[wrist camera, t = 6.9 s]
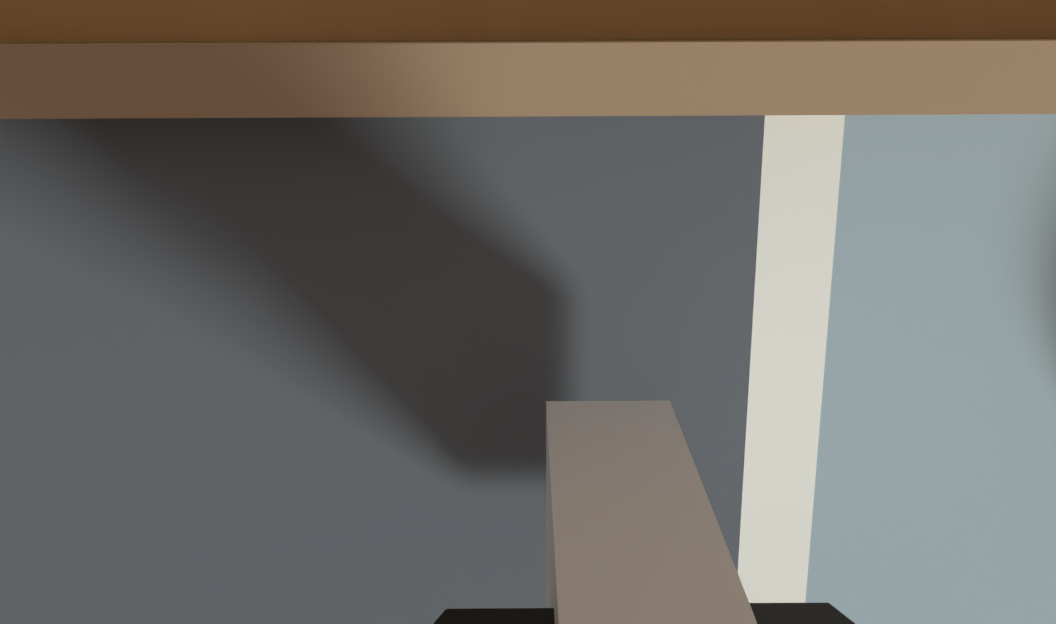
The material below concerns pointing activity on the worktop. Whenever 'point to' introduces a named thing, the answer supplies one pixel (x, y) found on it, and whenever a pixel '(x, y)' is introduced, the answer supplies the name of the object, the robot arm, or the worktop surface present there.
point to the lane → (521, 318)
